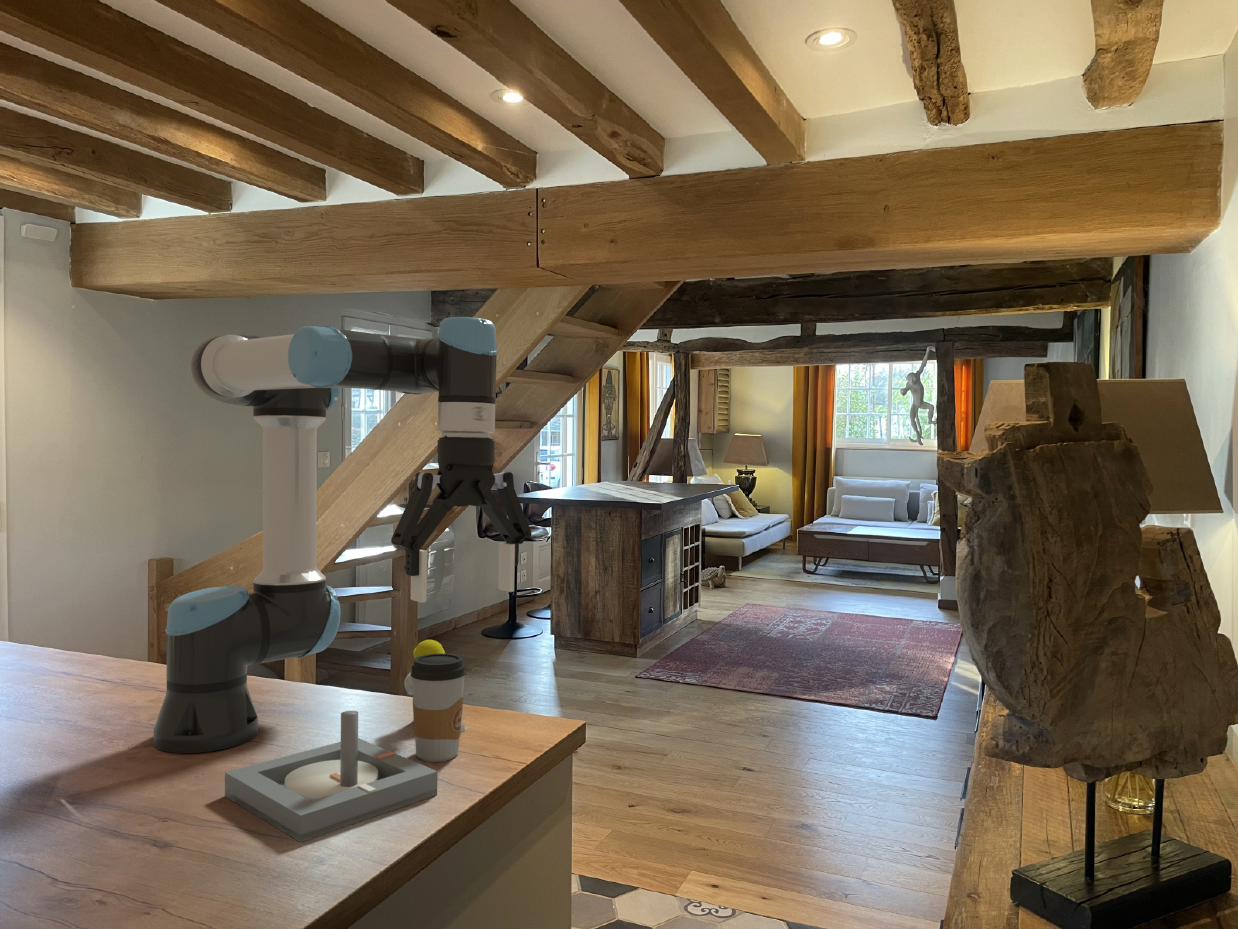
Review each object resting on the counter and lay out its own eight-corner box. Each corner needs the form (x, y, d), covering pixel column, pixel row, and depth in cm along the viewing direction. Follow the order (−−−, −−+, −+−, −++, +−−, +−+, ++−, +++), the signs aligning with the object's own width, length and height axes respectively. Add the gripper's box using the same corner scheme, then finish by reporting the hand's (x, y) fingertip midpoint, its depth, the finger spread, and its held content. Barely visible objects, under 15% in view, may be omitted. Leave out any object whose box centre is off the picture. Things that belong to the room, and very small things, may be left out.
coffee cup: (452, 768, 130) (453, 667, 130) (399, 763, 132) (401, 663, 131) (473, 749, 138) (474, 654, 138) (423, 745, 140) (424, 651, 140)
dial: (267, 787, 119) (268, 706, 119) (347, 764, 128) (348, 689, 128) (313, 813, 111) (314, 726, 111) (395, 787, 120) (396, 706, 120)
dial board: (224, 796, 119) (225, 770, 118) (356, 758, 134) (356, 736, 133) (300, 842, 105) (300, 814, 105) (437, 794, 120) (437, 770, 120)
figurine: (409, 743, 141) (411, 650, 140) (399, 726, 149) (400, 638, 149) (471, 736, 145) (473, 645, 144) (458, 720, 153) (459, 634, 153)
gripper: (394, 433, 106) (392, 610, 106) (558, 437, 122) (555, 590, 123) (365, 433, 111) (363, 601, 112) (525, 437, 128) (523, 583, 128)
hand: (464, 595), depth 117 cm, fingers open, 13 cm apart
